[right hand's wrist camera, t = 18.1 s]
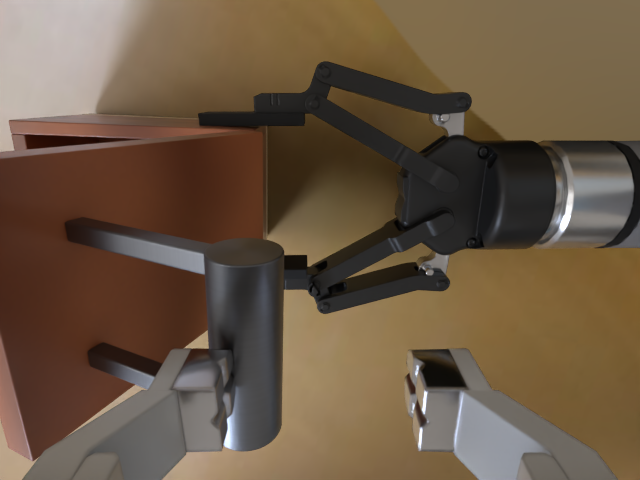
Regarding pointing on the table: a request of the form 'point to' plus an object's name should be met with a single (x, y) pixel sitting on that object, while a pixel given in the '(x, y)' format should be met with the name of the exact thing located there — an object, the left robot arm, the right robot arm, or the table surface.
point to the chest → (121, 134)
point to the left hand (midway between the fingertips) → (212, 198)
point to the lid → (134, 279)
